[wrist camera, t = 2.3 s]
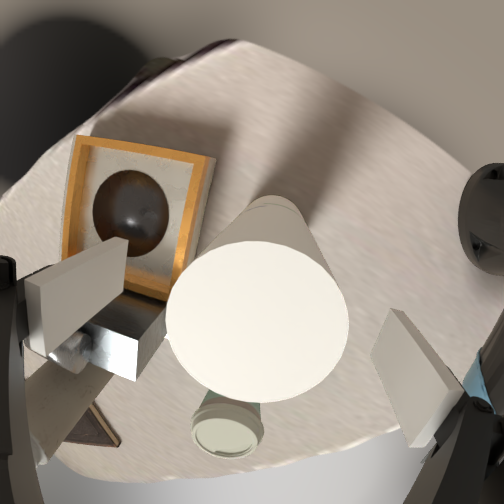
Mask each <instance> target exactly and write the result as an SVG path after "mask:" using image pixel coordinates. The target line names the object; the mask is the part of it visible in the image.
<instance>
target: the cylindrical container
mask: <svg viewBox="0 0 504 504" xmlns="http://www.w3.org/2000/svg"><path fill="white" fill-rule="evenodd" d="M165 321H166V329H167V336H168V339H169V342H170V345H171V347H172V350H173V352H174V353H175V355H176V357H177V359H178V361H179V362H180V363H181V365H182V366H183V367H184V368H185V369H186V371H187V372H188V373H189V374H190V375H191V376H192V377H193V378H195V379H196V380H197V381H198V382H199V383H200V384H202V385H204V386H205V387H207V388H209V389H210V390H212V391H214V392H215V393H218V394H220V395H223V396H226V397H228V398H231V399H235V400H240V401H245V402H258V403H266V402H275V401H281V400H285V399H289V398H292V397H295V396H297V395H299V394H302V393H304V392H306V391H308V390H309V389H311V388H312V387H314V386H315V385H317V384H318V383H320V382H321V381H322V380H323V379H324V378H325V377H326V376H327V375H328V374H329V373H330V372H331V371H332V370H333V368H334V367H335V365H336V364H337V362H338V361H339V359H340V358H341V355H342V353H343V350H344V347H345V345H346V342H347V336H348V328H349V322H348V311H347V307H346V304H345V301H344V297H343V295H342V293H341V291H340V289H339V287H338V285H337V283H336V280H335V278H334V276H333V274H332V272H331V270H330V268H329V266H328V264H327V263H326V261H325V259H324V257H323V255H322V253H321V251H320V249H319V247H318V245H317V243H316V241H315V239H314V237H313V235H312V233H311V232H310V230H309V228H308V226H307V224H306V222H305V220H304V219H303V217H302V215H301V213H300V211H299V210H298V208H297V207H296V206H295V205H294V203H292V202H291V201H290V200H288V199H286V198H284V197H282V196H277V195H267V196H263V197H260V198H258V199H256V200H255V201H253V202H252V203H251V204H250V205H249V206H248V207H247V208H246V209H245V210H244V211H243V212H242V213H241V214H240V215H239V216H238V217H237V218H236V219H235V220H234V221H233V222H232V223H231V224H230V225H229V226H227V227H226V228H225V229H224V230H223V231H222V232H221V233H220V234H219V235H218V236H217V237H216V238H215V239H214V240H213V241H212V242H211V243H210V244H209V245H208V246H207V248H206V249H205V250H204V251H203V252H202V253H201V254H200V255H199V256H198V257H197V258H196V259H195V260H194V261H193V262H192V263H191V264H190V265H189V266H188V267H187V268H186V269H185V270H184V271H183V272H182V273H181V275H180V277H179V278H178V280H177V281H176V283H175V285H174V286H173V288H172V290H171V293H170V296H169V299H168V302H167V308H166V319H165Z"/></svg>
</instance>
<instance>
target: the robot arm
mask: <svg viewBox="0 0 504 504" xmlns="http://www.w3.org/2000/svg"><path fill="white" fill-rule="evenodd" d="M458 228H459V236H460V240H461V244H462V247H463V250H464V252H465V254H466V255H467V257H468V259H469V260H470V261H471V262H472V263H473V264H474V265H475V266H476V267H478V268H480V269H481V270H483V271H485V272H487V273H489V274H493V275H504V163H492V164H488V165H485V166H483V167H481V168H480V169H479V170H477V171H476V172H475V173H474V174H473V176H472V177H471V178H470V180H469V181H468V183H467V185H466V187H465V189H464V192H463V194H462V198H461V201H460V206H459V214H458ZM128 241H129V240H126V239H122V238H119V237H113V238H111V239H109V240H106V241H104V242H102V243H100V244H97V245H95V246H93V247H91V248H89V249H86V250H84V251H82V252H80V253H78V254H76V255H73V256H71V257H69V258H67V259H65V260H63V261H61V262H59V263H57V264H53V265H48V266H46V267H44V268H42V269H39V271H38V270H37V271H35V272H33V274H32V273H31V274H29V275H27V276H25V277H23V278H21V279H19V280H17V279H16V261H15V260H14V259H13V258H11V257H8V256H2V255H0V504H44V501H43V497H42V494H41V490H40V486H39V482H38V477H37V473H36V468H35V463H34V458H33V452H32V447H31V440H30V434H29V426H28V418H27V408H26V396H25V380H24V346H23V340H24V339H25V338H26V337H28V336H29V339H30V346H31V349H32V350H34V351H35V352H37V353H39V354H41V355H43V356H44V357H47V356H48V355H49V354H50V353H51V352H53V351H54V350H55V349H56V348H57V347H58V346H59V345H60V344H62V343H63V342H64V341H65V340H66V339H67V338H68V337H70V336H71V335H72V334H73V333H74V332H75V331H77V330H78V329H79V328H80V327H81V326H82V325H84V324H85V323H86V322H87V321H88V320H89V319H91V318H92V317H93V316H94V315H95V314H96V313H98V312H99V311H100V310H101V309H102V308H104V307H105V306H106V305H107V304H108V303H110V302H111V301H112V300H113V299H114V298H116V297H117V296H118V295H119V294H121V293H122V292H123V285H124V275H125V266H126V257H127V249H128ZM370 356H371V359H372V361H373V363H374V365H375V368H376V370H377V372H378V374H379V377H380V379H381V381H382V383H383V386H384V388H385V390H386V393H387V395H388V397H389V400H390V402H391V405H392V407H393V409H394V412H395V414H396V417H397V419H398V421H399V424H400V426H401V429H402V431H403V433H404V436H405V439H406V441H407V444H408V447H425V446H426V445H427V443H428V442H429V441H430V439H431V438H432V437H433V436H434V437H435V439H436V441H437V443H436V444H435V445H434V447H433V448H432V449H431V450H430V451H429V453H428V454H427V455H426V456H425V457H424V459H423V460H422V461H421V463H424V462H425V463H424V465H423V468H422V469H421V471H420V473H419V475H418V477H417V479H416V481H415V483H414V485H413V487H412V489H411V490H410V492H409V494H408V495H407V497H406V499H405V501H404V503H403V504H504V460H503V461H502V462H501V464H500V465H499V461H500V460H501V458H502V457H503V456H504V309H503V311H502V313H501V315H500V317H499V319H498V321H497V323H496V325H495V326H494V328H493V330H492V332H491V334H490V335H489V337H488V339H487V340H486V342H485V344H484V345H483V347H481V348H480V349H479V350H478V352H477V356H476V359H475V361H474V362H473V364H472V366H471V368H470V369H469V371H468V372H467V374H466V376H465V378H464V380H463V384H462V385H461V384H460V382H458V379H457V378H456V377H455V376H454V374H453V373H452V371H451V370H450V369H449V367H447V366H446V365H445V364H444V362H443V361H442V360H441V358H440V357H439V356H438V354H437V353H436V352H435V351H434V349H433V348H432V347H431V345H430V344H429V343H428V342H427V340H426V339H425V338H424V336H423V335H422V334H421V333H420V331H419V330H418V329H417V328H416V326H415V325H414V324H413V323H412V322H411V320H410V319H409V318H408V317H407V315H406V314H405V313H404V312H403V311H400V310H396V309H391V308H390V311H389V313H388V315H387V318H386V320H385V323H384V325H383V327H382V329H381V332H380V334H379V336H378V338H377V341H376V343H375V345H374V347H373V349H372V351H371V354H370Z"/></svg>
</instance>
